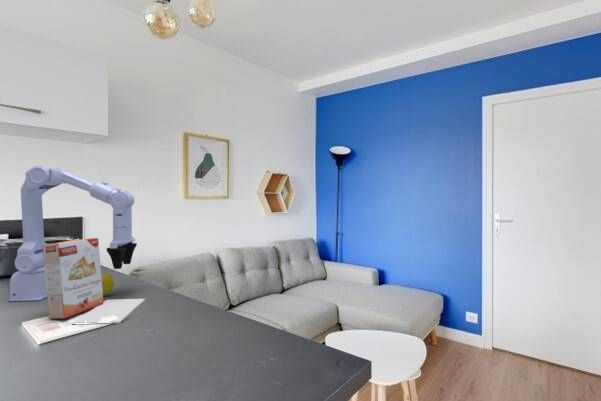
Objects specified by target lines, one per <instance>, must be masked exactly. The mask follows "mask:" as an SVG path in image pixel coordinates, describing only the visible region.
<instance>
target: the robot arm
mask: <svg viewBox="0 0 601 401" xmlns="http://www.w3.org/2000/svg"><path fill="white" fill-rule="evenodd" d="M62 184H67V185H71V186H72V187H76V188H79V189H81V190H84V191H87V192H89V195H90V197H91V198H94V199H96V200H98V201H101V202H103V203H106V204H108V205H110V207H112V240H111V242H109V247H106V252H107V253H108V255H109V257H110V259H111V262H112V263H111V264H112V267H113V269H114V270H121V269H122V267H123V265H131V263H132V259H133V254H134V252H135V249H136V247H137V245H138V243H137V242H136V238H134V236H133V228H132V227H133V224H132V221H133V218H132V215H133V214H132V211H133V210H132V207H133V205H134V204H135V197H134V195H133V194H132V193H130V192H129V191H121V190H122V189H121V188H119V187H117V188H116V187H113V186H111V185H109V183H108V182H106V181H96V182H92V181H90V180H87V179H86V178H84V177H81V176H79V175H78V174H75V173H72V172H70V171H67V170H64V169H61V168H58V167H49V166H42V165H35V166H32V167H31V168H29V170H27V171H26V172H25V179H24V181H23V183H22V185H21V187H20V204H21V222H22V224H21V225H22V240H23V241H22V242H23V243H22V244H21V245H20V246H19V247H18V249H17V254H16V258H15V259H14V266H15V269H16V270H17V271H16V272H14V273H13V274H12V275H11V277H10V280H9V298H8V302H27V301H42V300H43V299H45V298H47V291H46V279H45V268H44V256H43V245H46V244H48V243H47V242H46V241H45V234H44V233H45V232H44V231H45V230H44V229H45V228H44V214H43V212H44V211H43V195H44V194H45V193H46V192H48V191H49V190H50V189H54V188H56V187H58V186H60V185H62Z"/></svg>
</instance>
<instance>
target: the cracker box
mask: <svg viewBox="0 0 601 401" xmlns="http://www.w3.org/2000/svg"><path fill="white" fill-rule="evenodd" d="M43 256H44V268H45V279H46V291H47V297H46V299H47V300H46V301H47V302H46V303H47V312H48V319H49V320H54V319H55V320H56V319H57V320H58V319H60V320H61V319H63V320H64V319H67V318H69V317H72V316H75V315H77V314H80V313H82V312H84V311H87V310H91V309H92V308H93V309H94V308H95V307H97V306H98V305H100V304H103V303H104V296H103V290H102V278H101V274H102V269H101V267H102V266H101V256H100V243H99V238H98V237H91V238H89V237H88V238H81V239H74V240H66V241H65V240H64V241H60V242H53V243H47V244H46V245H43Z"/></svg>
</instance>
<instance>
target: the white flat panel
mask: <svg viewBox="0 0 601 401" xmlns="http://www.w3.org/2000/svg"><path fill="white" fill-rule="evenodd" d="M145 301H146V298H124V299H120V298H118V299H106V300H103V302H104V303H103V304H100V305H98V306H95V307H93V309H92V308H91V309H90V311H88V312H86V313H85V314H84V315H82V316H80V317H79V318H77V319H76V320H74V321H73V322H72V323H85V320H86V322H87V323H97V322H99V320H100V321H101V319H102V318H103V317H105V318H106V317H108V316H110V317H111V315H114V316H117V317H118V320H114V321H113V320H112V321H110V322H112V323H115V324H121V323H122V322H123V321H124V320H125V319H126V318H128V317H129V316H130V314H132V313H133V312H134V311H135V310H136V309H137V308H138V307H140V306H141V305H142V304H143V303H144V302H145ZM100 318H101V319H100ZM122 320H123V321H122ZM121 321H122V322H121Z"/></svg>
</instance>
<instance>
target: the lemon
mask: <svg viewBox="0 0 601 401" xmlns="http://www.w3.org/2000/svg"><path fill="white" fill-rule="evenodd" d="M101 278H102V290H103V297H106V296H107V295H108V294H109V293H111V292H112V290H113V289H114V284H115V282H114V278H113V276H112V275H111V274H109V273H106V272H103V273H101Z"/></svg>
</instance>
